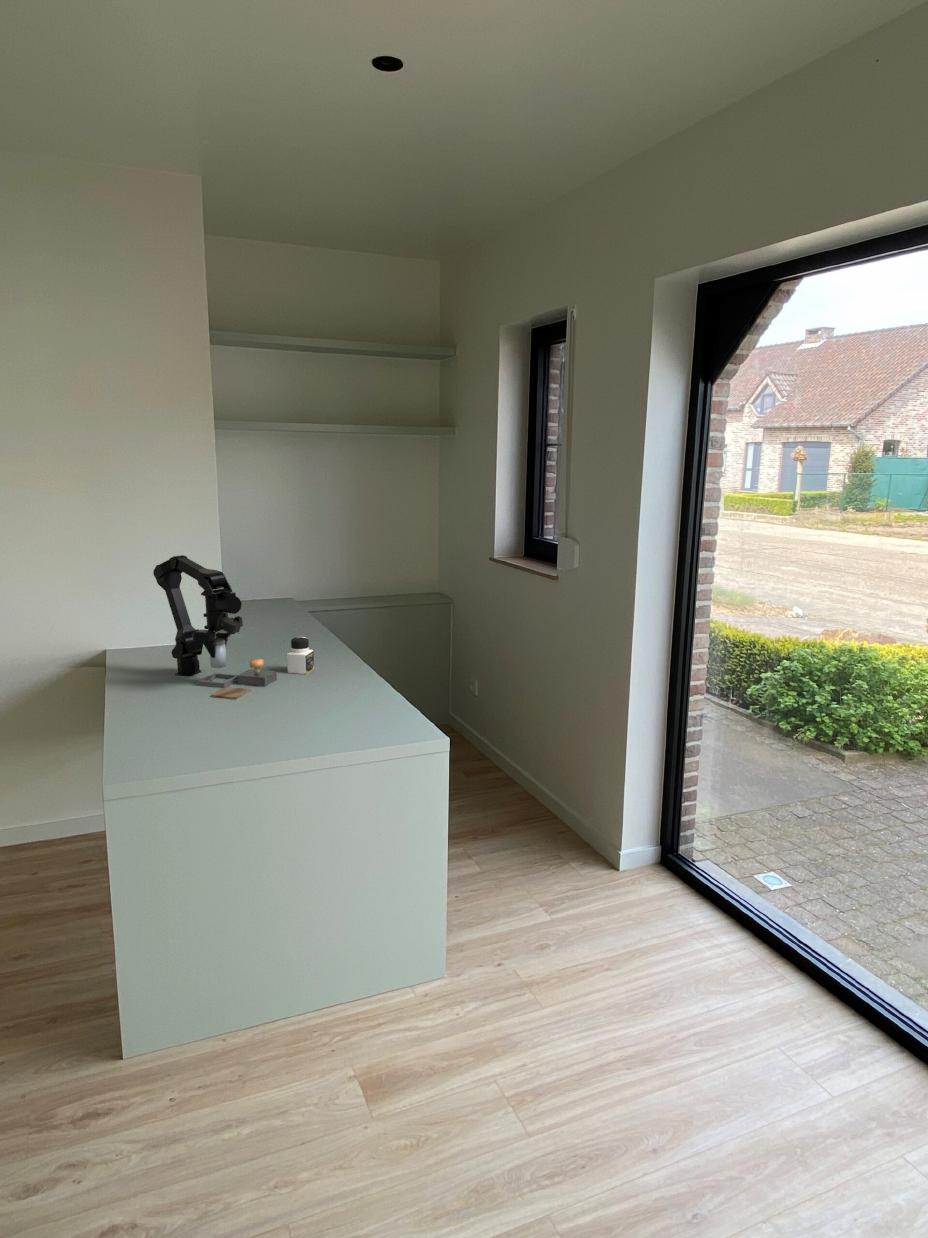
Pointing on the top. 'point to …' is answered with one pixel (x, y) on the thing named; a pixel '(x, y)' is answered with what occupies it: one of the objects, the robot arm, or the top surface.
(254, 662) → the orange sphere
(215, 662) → the cylinder
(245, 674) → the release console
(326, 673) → the top surface
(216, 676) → the collar
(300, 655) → the medicine bottle
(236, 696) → the walnut pad
